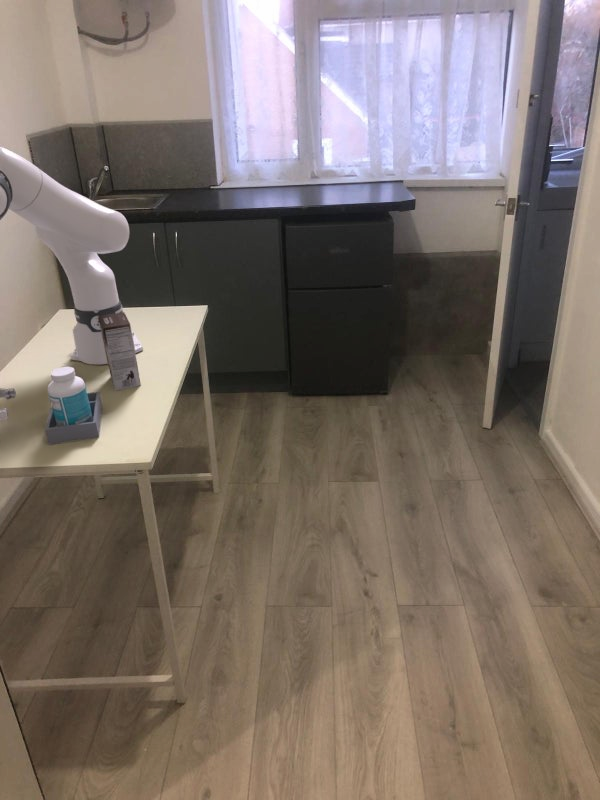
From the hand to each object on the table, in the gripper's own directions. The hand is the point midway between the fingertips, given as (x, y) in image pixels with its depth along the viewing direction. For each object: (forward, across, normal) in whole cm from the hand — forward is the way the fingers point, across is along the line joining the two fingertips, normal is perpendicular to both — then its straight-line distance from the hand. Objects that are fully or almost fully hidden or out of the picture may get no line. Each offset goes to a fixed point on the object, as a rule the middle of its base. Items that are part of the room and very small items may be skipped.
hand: (11, 402), depth 133 cm
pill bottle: (+11, 0, +8) cm, 14 cm away
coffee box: (+21, +21, +8) cm, 31 cm away
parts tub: (+11, +2, +8) cm, 14 cm away
